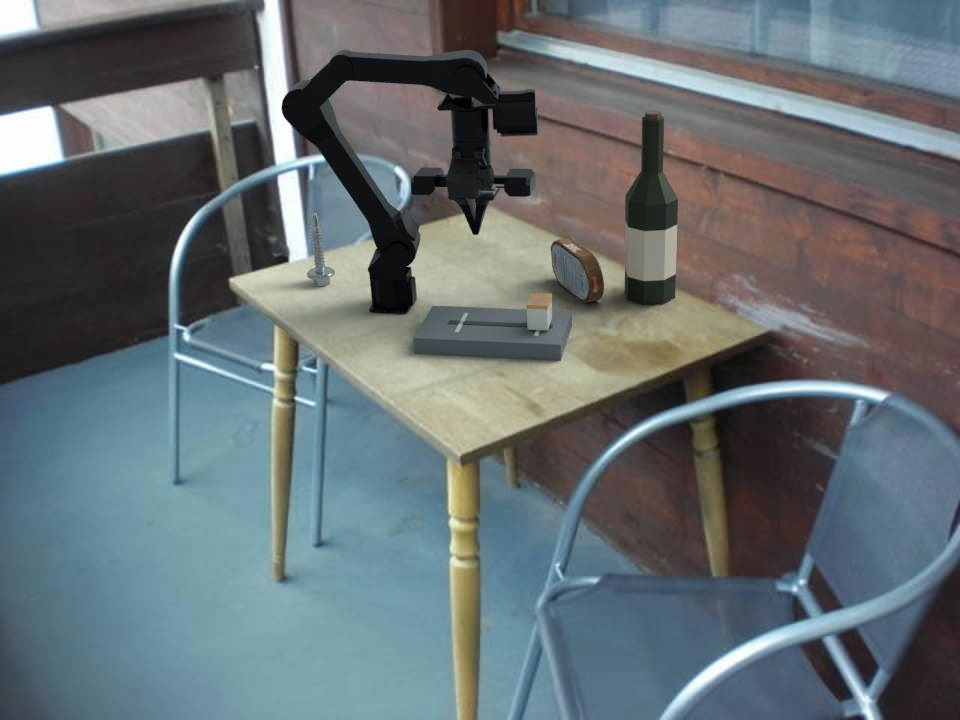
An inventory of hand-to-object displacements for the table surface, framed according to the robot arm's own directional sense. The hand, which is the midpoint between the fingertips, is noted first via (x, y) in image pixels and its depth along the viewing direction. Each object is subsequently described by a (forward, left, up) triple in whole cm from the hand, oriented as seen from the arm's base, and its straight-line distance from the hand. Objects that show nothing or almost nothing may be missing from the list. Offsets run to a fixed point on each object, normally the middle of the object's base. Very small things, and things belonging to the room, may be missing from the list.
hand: (476, 234), depth 181 cm
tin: (+15, +6, -12) cm, 20 cm away
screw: (-29, +6, -12) cm, 32 cm away
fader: (+12, -13, -9) cm, 20 cm away
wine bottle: (+27, +6, -12) cm, 30 cm away
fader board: (+5, -13, -12) cm, 18 cm away
